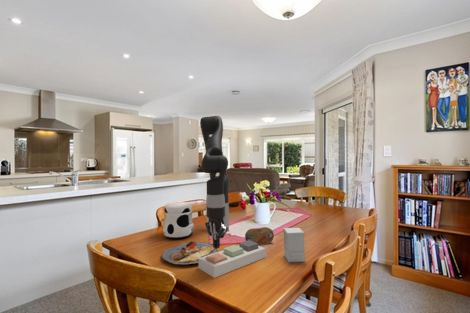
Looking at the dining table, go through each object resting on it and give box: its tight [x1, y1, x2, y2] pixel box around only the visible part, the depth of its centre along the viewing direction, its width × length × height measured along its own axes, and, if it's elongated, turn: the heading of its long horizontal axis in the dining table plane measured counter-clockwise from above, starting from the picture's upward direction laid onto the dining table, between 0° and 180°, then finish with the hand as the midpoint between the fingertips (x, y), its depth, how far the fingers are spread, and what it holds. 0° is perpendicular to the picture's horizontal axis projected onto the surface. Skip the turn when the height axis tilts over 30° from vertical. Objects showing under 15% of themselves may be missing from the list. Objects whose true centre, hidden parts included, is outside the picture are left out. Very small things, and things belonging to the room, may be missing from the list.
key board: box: [198, 244, 267, 279], centre depth 107 cm, size 11×28×4 cm, turn 130°
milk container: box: [162, 201, 195, 239], centre depth 144 cm, size 17×17×18 cm
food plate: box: [161, 241, 218, 266], centre depth 115 cm, size 25×23×4 cm
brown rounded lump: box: [244, 226, 275, 246], centre depth 128 cm, size 15×3×8 cm, turn 105°
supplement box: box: [283, 227, 306, 263], centre depth 109 cm, size 7×7×13 cm
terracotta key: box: [206, 253, 227, 264], centre depth 101 cm, size 6×6×3 cm
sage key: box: [223, 244, 243, 258], centre depth 107 cm, size 6×6×3 cm
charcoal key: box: [238, 240, 259, 252], centre depth 112 cm, size 6×6×3 cm
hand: (216, 247), depth 101 cm, fingers closed
